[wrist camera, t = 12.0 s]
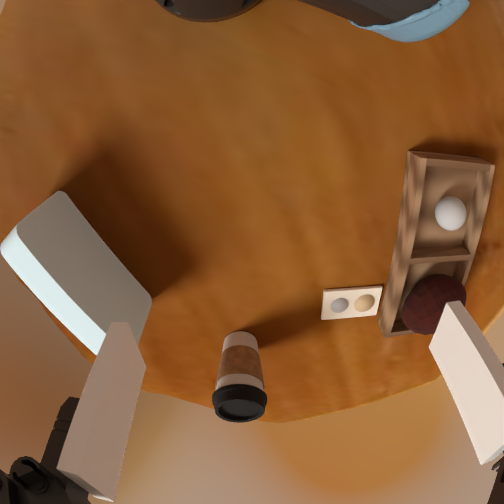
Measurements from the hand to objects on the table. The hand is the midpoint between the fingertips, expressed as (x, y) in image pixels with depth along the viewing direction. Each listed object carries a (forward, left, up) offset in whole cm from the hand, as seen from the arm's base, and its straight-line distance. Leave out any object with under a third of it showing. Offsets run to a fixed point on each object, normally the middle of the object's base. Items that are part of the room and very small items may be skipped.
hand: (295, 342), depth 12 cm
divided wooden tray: (+15, +27, -32) cm, 44 cm away
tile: (+25, +14, -32) cm, 43 cm away
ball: (+8, +27, -31) cm, 42 cm away
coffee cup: (+33, -5, -32) cm, 46 cm away
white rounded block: (+13, -26, -32) cm, 44 cm away
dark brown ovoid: (+23, +27, -31) cm, 47 cm away
